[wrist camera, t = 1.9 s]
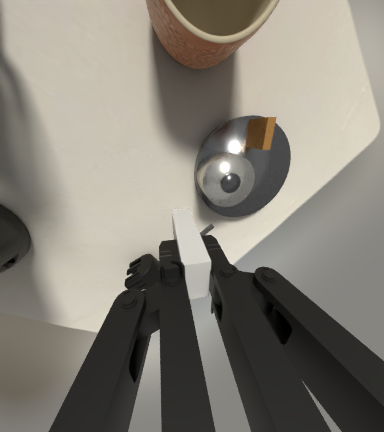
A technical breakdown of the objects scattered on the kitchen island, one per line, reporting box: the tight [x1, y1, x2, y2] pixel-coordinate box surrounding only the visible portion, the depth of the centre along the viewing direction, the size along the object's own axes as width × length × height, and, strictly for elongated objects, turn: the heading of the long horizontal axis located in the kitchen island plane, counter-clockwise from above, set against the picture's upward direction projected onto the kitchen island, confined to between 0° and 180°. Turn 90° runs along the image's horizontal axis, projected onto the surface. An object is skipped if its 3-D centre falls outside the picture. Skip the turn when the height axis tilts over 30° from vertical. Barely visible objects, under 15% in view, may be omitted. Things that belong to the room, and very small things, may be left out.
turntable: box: [195, 116, 291, 217], centre depth 29 cm, size 18×18×7 cm
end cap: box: [125, 254, 159, 290], centre depth 36 cm, size 10×7×7 cm
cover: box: [197, 151, 255, 207], centre depth 27 cm, size 8×8×5 cm
